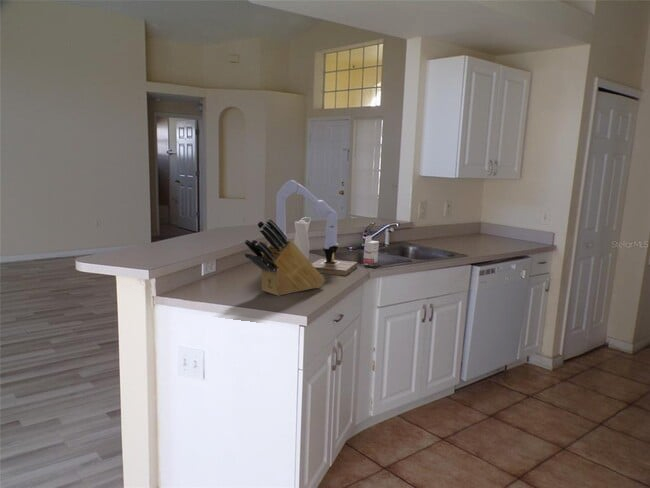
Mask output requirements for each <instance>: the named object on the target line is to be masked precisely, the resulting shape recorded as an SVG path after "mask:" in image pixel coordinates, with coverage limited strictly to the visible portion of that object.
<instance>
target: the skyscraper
mask: <svg viewBox="0 0 650 488" xmlns="http://www.w3.org/2000/svg"><path fill="white" fill-rule="evenodd" d="M304 219H309V221H308V222H306V220H304ZM311 220H312V218H311V217H309V216H304V217H302V218H301V219H299V220H297V221H296V220H295V221H294V229H295V235H294V239H293V242H294V244H295V245H296V246H297V247H298V248H299V249H300V251H301V252H302V253H303V254H304V256H305V257H306V258H307V259H308V260H309V258H310V257H309V255H310V240H309V234H308V232H309V229H310V228H309V227H310V223H311Z"/></svg>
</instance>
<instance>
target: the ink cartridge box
mask: <svg viewBox="0 0 650 488" xmlns="http://www.w3.org/2000/svg"><path fill="white" fill-rule="evenodd" d="M372 239H373V235H366V236H365V238H364V247H363V264H367V265H373V264H375V263H378V262H379V261H378V260H379V258H378V257H379V248H380V247H379V245H380V241H377V240H372Z"/></svg>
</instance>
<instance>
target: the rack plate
mask: <svg viewBox="0 0 650 488" xmlns="http://www.w3.org/2000/svg"><path fill="white" fill-rule="evenodd" d="M311 264H312V265H313V266H314V268H315V269H316V270H317V271H318V273H319V274H327V275H338V276H345V277H346V276H347V275H349V274H350V273H352V272H353V271H354V270H356V268H358V262H357V261H348V260H337V259H334V264H326V259H325V258H319V259H318V260H316V261H314V262H311Z"/></svg>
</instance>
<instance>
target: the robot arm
mask: <svg viewBox="0 0 650 488" xmlns="http://www.w3.org/2000/svg"><path fill="white" fill-rule="evenodd" d="M294 193H296V195H301V196H303V197H304V198H306V200H307V201H309V202H310V203H311V204H313V206H314V210H316V211H317V213H319V214H320V215H321V216H323V217H324V218H325V219H326V225H325V241H324V247H323V249H322V250H323V252H324V254H325V258H326V260H327V262H331V260H332V255H333V252H334V258H335V256H336V254H337V253H336V252H337V250H338V248H339V245H340V244H339V243H337V242H338V241H337V240H338V239H337V238H338V220H339V215H338V213H337V212H336V210H334V208H333V207H330V206H329V205H328V204H327V202H326V201H325V200H323V199H317V198H316V197H315V195H313V194H312V193H311V192H310V191H309V190H308V189H307V188H306V187H304V186H303V185H302V184H300V183H298V182H297V181H296V180H294V179H290V180H288V181H287V182H285V183H284V184H282V187H281V188H280V189H279V190H278V192H277V193H276V195H275V196H276V197H275V198H276V199H275V200H276V204H275V205H276V206H275V211H276V214H275V215H276V216H275V217H276V222H275V224H276V225H277V226H278V227H279V228H280V230H281V231H282V232H283V233H284V235H285V236H286V237H287V229H286V228H287V227H286V226H287V222H286V218H287V217H286V199H287V198H288V197H290V196H291V195H293V194H294Z"/></svg>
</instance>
